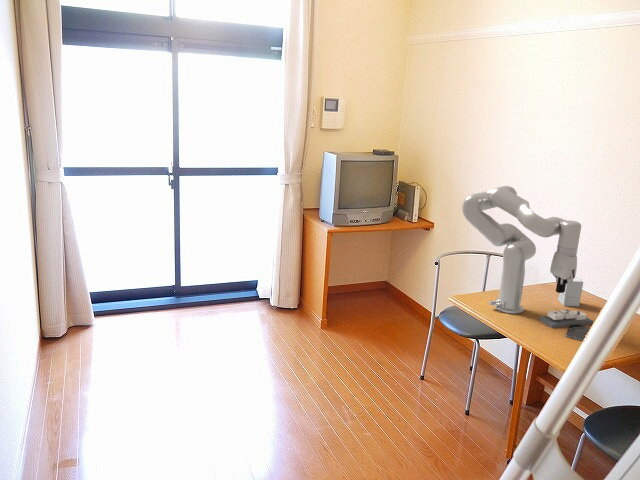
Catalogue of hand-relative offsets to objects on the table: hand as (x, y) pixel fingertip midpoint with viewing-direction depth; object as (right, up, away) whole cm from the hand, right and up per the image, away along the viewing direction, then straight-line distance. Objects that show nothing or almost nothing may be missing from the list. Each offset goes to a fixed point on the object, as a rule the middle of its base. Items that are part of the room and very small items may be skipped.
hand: (560, 292), depth 211 cm
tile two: (+5, -11, +5) cm, 13 cm away
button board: (+5, -14, +5) cm, 16 cm away
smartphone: (+5, -17, -4) cm, 18 cm away
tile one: (-1, -11, +3) cm, 12 cm away
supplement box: (+17, -8, +27) cm, 33 cm away
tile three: (+11, -12, +7) cm, 17 cm away
